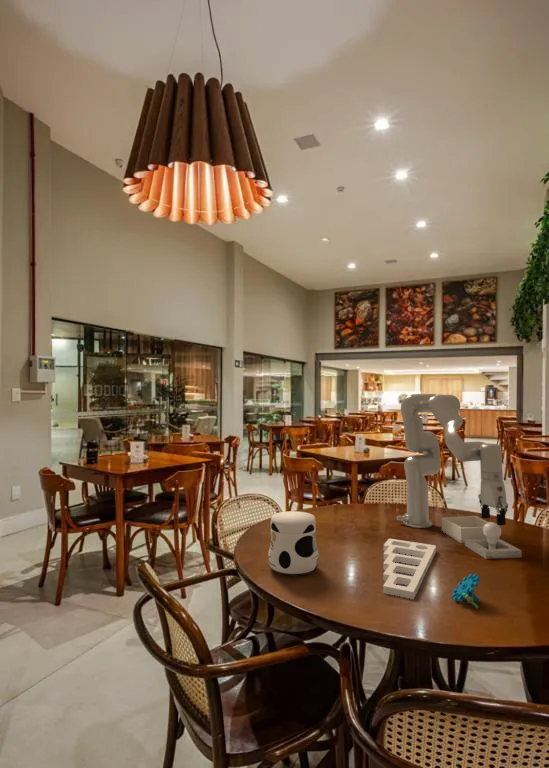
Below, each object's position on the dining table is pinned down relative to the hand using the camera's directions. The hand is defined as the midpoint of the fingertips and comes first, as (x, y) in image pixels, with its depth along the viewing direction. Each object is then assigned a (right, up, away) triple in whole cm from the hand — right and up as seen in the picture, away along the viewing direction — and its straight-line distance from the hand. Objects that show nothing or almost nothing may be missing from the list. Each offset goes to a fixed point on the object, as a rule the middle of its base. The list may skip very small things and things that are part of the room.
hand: (493, 521), depth 170 cm
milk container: (-77, -12, -16) cm, 79 cm away
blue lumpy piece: (-28, -11, -40) cm, 50 cm away
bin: (-1, -12, +18) cm, 22 cm away
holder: (-40, -12, -15) cm, 44 cm away
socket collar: (0, -12, 0) cm, 12 cm away
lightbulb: (0, -12, 0) cm, 12 cm away
